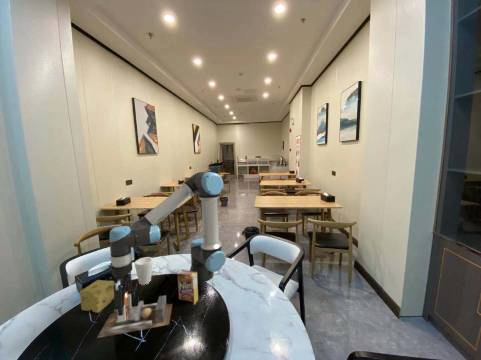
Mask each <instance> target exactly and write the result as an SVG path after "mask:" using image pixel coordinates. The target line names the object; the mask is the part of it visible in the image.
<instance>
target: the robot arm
mask: <svg viewBox="0 0 481 360" xmlns="http://www.w3.org/2000/svg"><path fill="white" fill-rule="evenodd" d="M223 189H224V181H223V178H222V177H221V175H219V174H218V173H216V172H212V171H206V172H205V171H199V172H196V173H194V174H193V175H191V176H190V177H189V178H188V179H186V180H185V181H184V182H183V183H181V186H180V187H179V188H177V190H175V191H173V192H172V193H171V194H170V195H169V196H168V197H166V198H165V199H164V200H162V202H159V204H158V205H157V206H155V207H154V208H152V210H150V211H149V212H148V213H146V214H145V215H144V216H142V217H141V218H139V219H136V220H134V221H133V222H132V223H131V225H130V226H128V225H120V226H116V227H113V228H112V229H110V231H109V249H110V251H109V252H110V257H109V259H110V261H111V262H110V265H111V275H112V276H113V277H115V285H114V286H113V289H114V299H113V301H114V302H113V305H114V306H113V308H114V310H117V313H118V322H123V321H126V313H125V305H124V295H125V291H128V300H129V309H131V307H132V294H133V292H134V290H133V282H132V271H133V262H132V261H133V255H132V248H135V247H141V246H144V245H149V244H154V243H157V242H159V241H160V239H161V229H160V227H159V225H158V224H159V223H160V222H161V221H163V220H164V219H165V218H166V217H168V216H169V215H170V214H171V213H172V212H174V211H175V210H176V209H177V208H178V207H179V206H181V205H182V204H183V203H184V202H185V201H187V200H188V199H190V197H195V195H196V194H198V198H199V200H201V218H202V220H201V221H202V222H201V223H202V237H199V238H195V239H193V240H191V242H190V246H189V247H190V261H191V263H190V264H191V265H190V269H189V271H193V272H197V284H201V283H206V282H208V281H210V280H211V279H213V278H214V275H215V274H214V273H215V272H219V271H220V270H221V269H222V268H223V266H224V265H225V263H226V261H227V256H226V253H225V252H224V251H223V248H222V247H223V245H222V243H221V241H220V240H219V239H220V236H219V233H220V232H219V209H218V199H219V198H220V197H221V192H222V190H223Z"/></svg>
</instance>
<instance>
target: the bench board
mask: <svg viewBox="0 0 481 360" xmlns="http://www.w3.org/2000/svg"><path fill="white" fill-rule="evenodd" d="M137 307H138V305H136V306H131V309H134V308H137ZM146 308H150V309H151V310H152V314H151V316H150V317H149V318H147V319H144V318H143V317H142V318H141V321H140V322H139V323H133V324H127V325H122V326H116V321H117V319H118V313H117V310H115V309H114V310H113V313H110V314H109V316H108V318H107V319H106V321H105V323H104V325H103V326H102V328H101V330H100V332H99V333H98V334H97V337H96V339H99V338H104V337H105V338H106V337H109V336H115V335H122V334H125V333H131V332H136V331H137V332H138V331H142V330H148V329H153V328H158V327H162V326H163V327H164V326H169V325H170V321H171V316H172V309H173V303H167V295H159V296H158V300H157V301H156V302H154V303H148V304H144V309H146Z"/></svg>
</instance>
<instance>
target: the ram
mask: <svg viewBox="0 0 481 360" xmlns="http://www.w3.org/2000/svg"><path fill="white" fill-rule="evenodd" d="M124 305H125V313H126V321H123V322H118V319H117V321H116V326H122V325H127V324H133V323H139V322H140V321H141V318H142V312H143V310H144V305H145V304H144V300H140V301H139V302H138V305H137V306H138V307H137V308H134V309H129V300H128V291H125V295H124Z"/></svg>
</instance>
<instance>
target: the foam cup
mask: <svg viewBox="0 0 481 360" xmlns="http://www.w3.org/2000/svg"><path fill="white" fill-rule="evenodd" d="M134 268H135V270H136V276H137V281H138V284H139V285H140V284H141V285H140V286H145V284H146V285H148V284H150V283H151V282H150V281H152V270H153V258H152V257H150V256H146V257H141V258H139V259H136V260H135V262H134ZM149 282H150V283H149Z"/></svg>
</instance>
